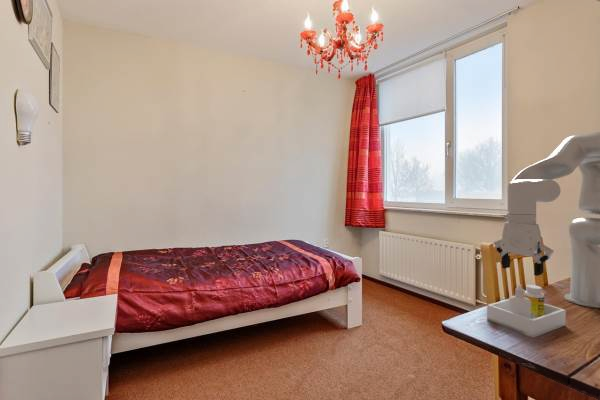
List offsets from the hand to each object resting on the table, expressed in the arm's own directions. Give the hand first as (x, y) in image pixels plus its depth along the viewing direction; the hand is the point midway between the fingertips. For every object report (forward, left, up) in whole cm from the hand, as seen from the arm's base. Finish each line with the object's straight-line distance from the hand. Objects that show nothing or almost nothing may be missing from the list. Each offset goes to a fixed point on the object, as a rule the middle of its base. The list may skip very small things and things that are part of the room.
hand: (521, 271), depth 103 cm
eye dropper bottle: (+5, +3, -15) cm, 16 cm away
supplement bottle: (-3, +2, -15) cm, 16 cm away
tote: (+2, +2, -16) cm, 16 cm away
